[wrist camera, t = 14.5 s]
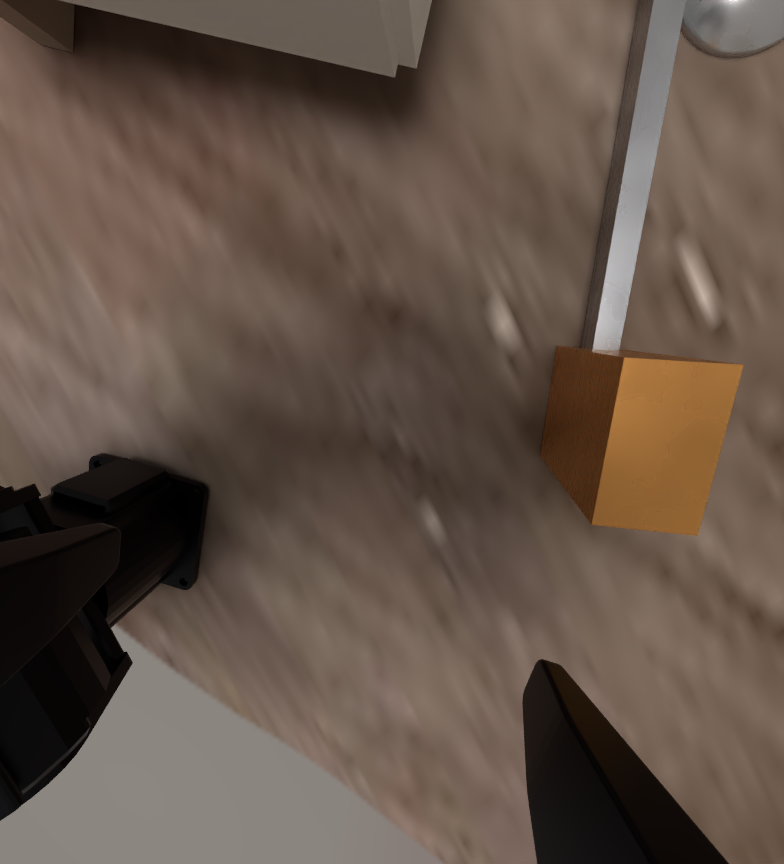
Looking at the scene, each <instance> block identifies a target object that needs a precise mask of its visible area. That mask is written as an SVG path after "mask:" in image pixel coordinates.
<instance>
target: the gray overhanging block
mask: <svg viewBox="0 0 784 864" xmlns="http://www.w3.org/2000/svg"><path fill="white" fill-rule="evenodd" d="M431 3H432V0H0V17H2V18H3V19H4V20H6V21H7V22H9V23H10V24H12V25H13V26H14V27H16V28H17V29H19V30H20V31H22V32H23V33H25V34H26V35H27V36H29V37H30V38H32V39H33V40H35V41H36V42H37V43H39V44H40V45H43V46H48V47H52V48H56V49H60V50H64V51H69V52H73V40H74V8H75V4H77V5H81V6H86V7H90V8H94V9H99V10H103V11H107V12H112V13H116V14H120V15H125V16H129V17H133V18H138V19H142V20H146V21H151V22H155V23H159V24H164V25H168V26H173V27H177V28H181V29H186V30H190V31H194V32H199V33H203V34H207V35H212V36H216V37H220V38H225V39H229V40H233V41H238V42H242V43H246V44H251V45H255V46H260V47H264V48H268V49H273V50H277V51H281V52H286V53H290V54H294V55H299V56H303V57H307V58H312V59H316V60H320V61H325V62H329V63H333V64H338V65H342V66H346V67H351V68H355V69H360V70H364V71H368V72H373V73H377V74H381V75H386V76H390V77H394V78H395V75H396V70H397V66H398V65H403V66H407V67H411V68H416V69H417V65H418V60H419V56H420V52H421V47H422V43H423V38H424V34H425V29H426V25H427V20H428V16H429V12H430V7H431Z"/></svg>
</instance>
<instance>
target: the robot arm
mask: <svg viewBox="0 0 784 864" xmlns="http://www.w3.org/2000/svg"><path fill="white" fill-rule="evenodd" d="M100 462H101V463H102V465H101V464H100ZM195 490H197V491H198V492H199V493H200V495H197V494H196V492H195ZM39 496H41V494H40V492H39V491H38V489H37V487H36V485H35V484H32V485H29V486H26V487H23V488H20V489H17V490H14V489H13V487H12V486H11V487H7V488H4V487H2V486H0V820H2V819H3V818H5V817H7V816H8V815H10V814H11V813H12V812H14V811H15V810H17V809H18V808H19V807H20V806H21V805H22V804H24V803H25V802H26V801H28V800H29V799H31V798H32V797H33V796H34V795H35V794H37V793H38V792H39V791H40V790H41V789H43V788H44V787H45V786H46V785H47V784H49V782H50V781H52V780H53V778H55V777H56V776H57V775H58V774H59V773H60V772H61V771H62V770H63V769H64V768H65V767H66V766H67V764H68V763H69V762H70V761H71V760H72V759H73V758H74V756H75V755H76V754H77V753H78V751H79V750H80V748H81V747H82V745H83V744H84V743H85V741H86V739H87V738H88V736H89V734H90V733H91V731H92V729H93V728H94V726H95V725H96V723H97V721H98V720H99V718H100V716H101V714H102V713H103V711H104V709H105V708H106V706H107V705H108V703H109V701H110V700H111V698H112V696H113V694H114V693H115V691H116V690H117V688H118V686H119V685H120V683H121V681H122V680H123V678H124V676H125V675H126V673H127V671H128V670H129V668H130V667H131V665H132V663H133V662H132V660H131V659H130V657H129V655H128V653H127V652H124V651H123V650H122V648H121V646H120V644H119V642H118V641H117V639H116V637H115V635H114V633H113V631H112V630H111V627H112V626H114V625H115V624H116V623H117V622H118V621H119V620H120V619H122V618H123V617H124V616H125V615H126V614H127V613H128V612H129V611H130V610H132V609H133V608H134V607H135V606H136V605H137V604H138V603H139V602H141V601H142V600H143V599H144V598H145V597H146V596H147V595H148V594H149V593H151V592H152V591H153V590H154V589H155V588H156V587H157V586H158V585H159V584H161V583H163V584H167V585H170V586H173V587H176V588H179V589H182V590H188V589H190V588H191V587H192V586H193V585H194V584H195V582H196V578H197V571H198V564H199V556H200V549H201V542H202V535H203V528H204V521H205V514H206V507H207V500H208V489H207V487H206V486H205V485H204V484H203V483H200V482H197V481H194V480H190V479H187V478H184V477H180V476H177V475H174V474H170V473H169V472H168V471H166V470H165V469H161V468H158V467H155V466H151V465H148V464H145V463H141V462H138V461H135V460H131V459H128V458H117V457H114V456H110V455H107V454H98V455H96V456H93V457H91V459H90V461H89V471H88V472H85V473H83V474H80V475H78V476H75V477H73V478H70V479H68V480H65V481H63V482H60V483H58V484H56V485H55V486H53V487H52V488H51V494H50V495H48V496H45V497H43V498H41V499H39ZM184 578H185V579H186V580H187V581H188V582H187V581H185V579H184ZM523 723H524V743H525V764H526V781H527V793H528V801H529V809H530V816H531V823H532V830H533V837H534V844H535V851H536V858H537V864H729V863H728V862H727V861H726V860H725V858H724V857H723V856H722V855H721V854H720V852H719V851H718V850H717V849H716V848H715V847H714V845H713V844H712V843H711V842H710V841H709V839H708V838H707V837H706V836H705V835H704V834H703V832H702V831H701V830H700V829H699V828H698V827H697V825H696V824H695V823H694V822H693V821H692V819H691V818H690V817H689V816H688V815H687V814H686V812H685V811H684V810H683V809H682V808H681V806H680V805H679V804H678V803H677V802H676V801H675V799H674V798H673V797H672V796H671V795H670V793H669V792H668V791H667V790H666V789H665V788H664V786H663V785H662V784H661V783H660V782H659V780H658V779H657V778H656V777H655V776H654V775H653V773H652V772H651V771H650V770H649V769H648V767H647V766H646V765H645V764H644V763H643V762H642V760H641V759H640V758H639V757H638V756H637V755H636V753H635V752H634V751H633V750H632V749H631V747H630V746H629V745H628V744H627V743H626V742H625V740H624V739H623V738H622V737H621V736H620V734H619V733H618V732H617V731H616V730H615V729H614V727H613V726H612V725H611V724H610V723H609V721H608V720H607V719H606V718H605V717H604V716H603V714H602V713H601V712H600V711H599V710H598V708H597V707H596V706H595V705H594V704H593V703H592V701H591V700H590V699H589V698H588V697H587V695H586V694H585V693H584V692H583V691H582V690H581V688H580V687H579V686H578V685H577V684H576V682H575V681H574V680H573V679H572V678H571V677H570V675H569V674H568V673H567V672H566V671H565V670H564V668H563V667H562V666H561V665H559V664H556V663H553V662H550V661H547V660H543V659H541V660H538V661H537V663H536V664H535V666H534V669H533V671H532V673H531V676H530V678H529V680H528V682H527V685H526V687H525V690H524V693H523Z"/></svg>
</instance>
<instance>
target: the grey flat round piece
mask: <svg viewBox="0 0 784 864" xmlns="http://www.w3.org/2000/svg"><path fill="white" fill-rule="evenodd" d="M681 31H682V33H683V34H684V36H685V37H686V38H687V40H688V41H689V42H691V43H692V44H693V45H694V46H695V47H696V48H698V49H699V50H701V51H703V52H705V53H707V54H709V55H713V56H716V57H722V58H740V57H746V56H750V55H753V54H756V53H759V52H761V51H764V50H766V49H768V48H770V47H772V46H773V45H775V44H777V43H778V42H780V41H781V40H782V39H784V0H686V3H685V8H684V13H683V18H682V24H681Z"/></svg>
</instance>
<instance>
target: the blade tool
mask: <svg viewBox="0 0 784 864" xmlns="http://www.w3.org/2000/svg"><path fill="white" fill-rule="evenodd" d="M685 3H686V0H639V2H638V8H637V14H636V20H635V26H634V32H633V38H632V44H631V50H630V56H629V62H628V67H627V73H626V79H625V85H624V91H623V97H622V103H621V109H620V115H619V121H618V127H617V133H616V139H615V145H614V151H613V157H612V163H611V169H610V175H609V181H608V187H607V193H606V199H605V205H604V211H603V217H602V223H601V229H600V235H599V241H598V246H597V252H596V258H595V264H594V270H593V276H592V282H591V288H590V294H589V300H588V306H587V312H586V318H585V324H584V330H583V336H582V342H581V348H580V347H563V346H557V347H556V354H555V360H554V367H553V374H552V380H551V387H550V393H549V400H548V406H547V413H546V419H545V426H544V432H543V439H542V445H541V452H540V456H541V457H542V459H543V460H544V461H545V463H546V464H547V465H548V467H549V468H550V470H551V471H552V472H553V474H554V475H555V476H556V478H557V479H558V480H559V482H560V483H561V484H562V486H563V487H564V488H565V490H566V491H567V492H568V494H569V495H570V496H571V498H572V499H573V500H574V502H575V503H576V504H577V506H578V507H579V508H580V510H581V511H582V512H583V514H584V515H585V517H586V518H587V519H588V521H589V522H590V523H591V525H599V526H609V527H618V528H628V529H638V530H648V531H657V532H667V533H677V534H686V535H696V536H698V533H699V529H700V525H701V521H702V518H703V514H704V510H705V507H706V503H707V499H708V495H709V492H710V488H711V484H712V481H713V477H714V473H715V469H716V466H717V462H718V458H719V455H720V451H721V447H722V443H723V440H724V436H725V432H726V428H727V425H728V421H729V417H730V414H731V410H732V406H733V402H734V399H735V395H736V391H737V388H738V384H739V380H740V376H741V373H742V369H743V365H741V364H733V363H725V362H717V361H709V360H701V359H693V358H685V357H677V356H670V355H662V354H654V353H646V352H638V351H630V350H619V348H620V343H621V337H622V332H623V327H624V322H625V317H626V311H627V306H628V301H629V296H630V290H631V285H632V280H633V275H634V269H635V264H636V259H637V254H638V249H639V243H640V238H641V233H642V228H643V222H644V217H645V212H646V207H647V201H648V196H649V191H650V186H651V181H652V175H653V170H654V165H655V160H656V154H657V149H658V144H659V139H660V134H661V128H662V123H663V118H664V113H665V107H666V102H667V97H668V92H669V86H670V81H671V76H672V71H673V66H674V60H675V55H676V50H677V45H678V39H679V34H680V29H681V24H682V18H683V13H684V8H685Z"/></svg>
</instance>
